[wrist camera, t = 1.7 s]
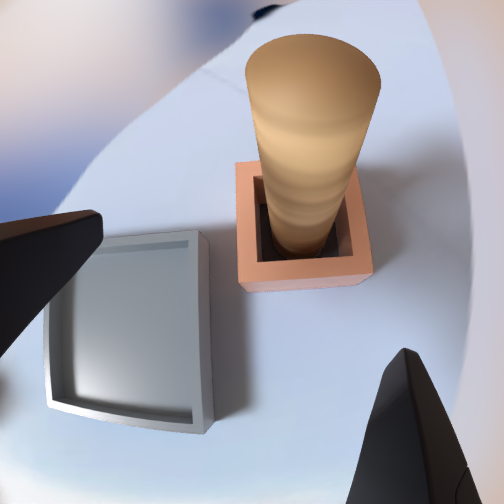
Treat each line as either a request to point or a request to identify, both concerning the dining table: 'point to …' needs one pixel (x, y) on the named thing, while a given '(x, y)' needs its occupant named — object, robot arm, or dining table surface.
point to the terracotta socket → (304, 270)
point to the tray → (135, 335)
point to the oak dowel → (308, 132)
